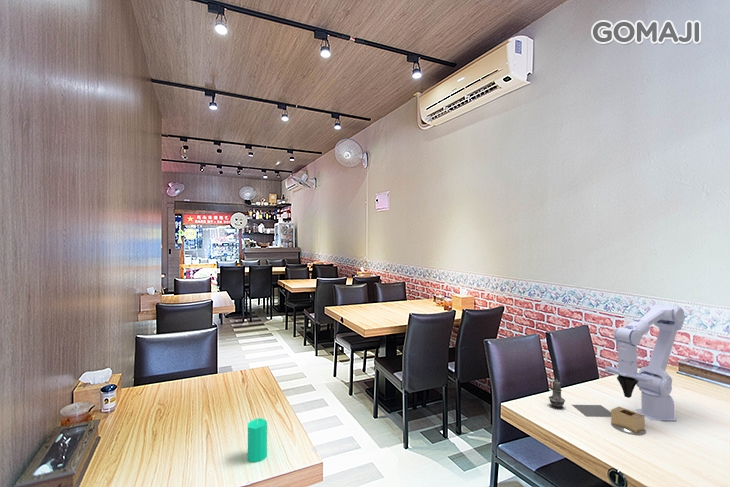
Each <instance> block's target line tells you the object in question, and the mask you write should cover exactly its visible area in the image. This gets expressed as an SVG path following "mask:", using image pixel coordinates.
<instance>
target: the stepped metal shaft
mask: <svg viewBox="0 0 730 487" xmlns="http://www.w3.org/2000/svg"><path fill="white" fill-rule="evenodd" d="M561 385H562V383H561V381H559V380H558V378H555V380H553V381H552V388H551V390H552V395H550V396H548V399H549V402H550V403H551V405H550V407H551V408H552V409H554V410H555V409H556V410H563V409H564V407H563V406H564V404H565V402H566V399H564V398H563V397H562V389H561V388H562V386H561Z"/></svg>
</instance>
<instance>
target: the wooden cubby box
mask: <svg viewBox="0 0 730 487" xmlns="http://www.w3.org/2000/svg"><path fill="white" fill-rule="evenodd" d="M610 412H611V417H610V419H611V420H610V424H611V423H612V424H614V425H616V426H619V427H621V428H624V429H626V430H629V431H631V432H634V433H636V434H637V433H639V432H641V431H643V430H646V429H645V428H646V427H645V424H646V423H645V416H644V415H642V414H641V413H639V412H637V411H633V410H630V409H627V408H624V407H621V406H617V407H614V408H612V409H610Z"/></svg>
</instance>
